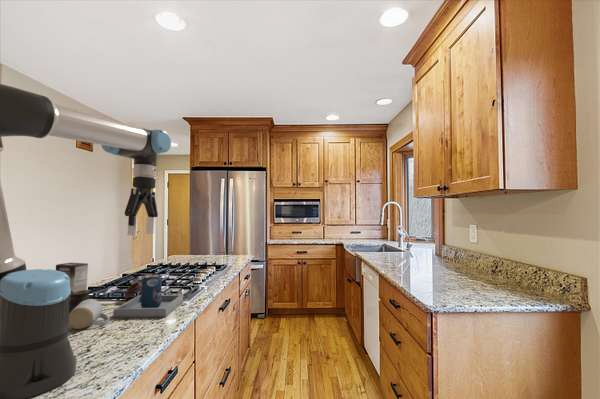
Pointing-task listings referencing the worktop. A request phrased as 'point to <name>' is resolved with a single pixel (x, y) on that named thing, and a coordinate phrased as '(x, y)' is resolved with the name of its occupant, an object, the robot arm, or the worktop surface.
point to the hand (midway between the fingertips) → (141, 234)
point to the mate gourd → (77, 298)
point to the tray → (136, 311)
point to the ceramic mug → (87, 315)
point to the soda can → (151, 291)
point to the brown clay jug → (133, 290)
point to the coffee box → (75, 274)
